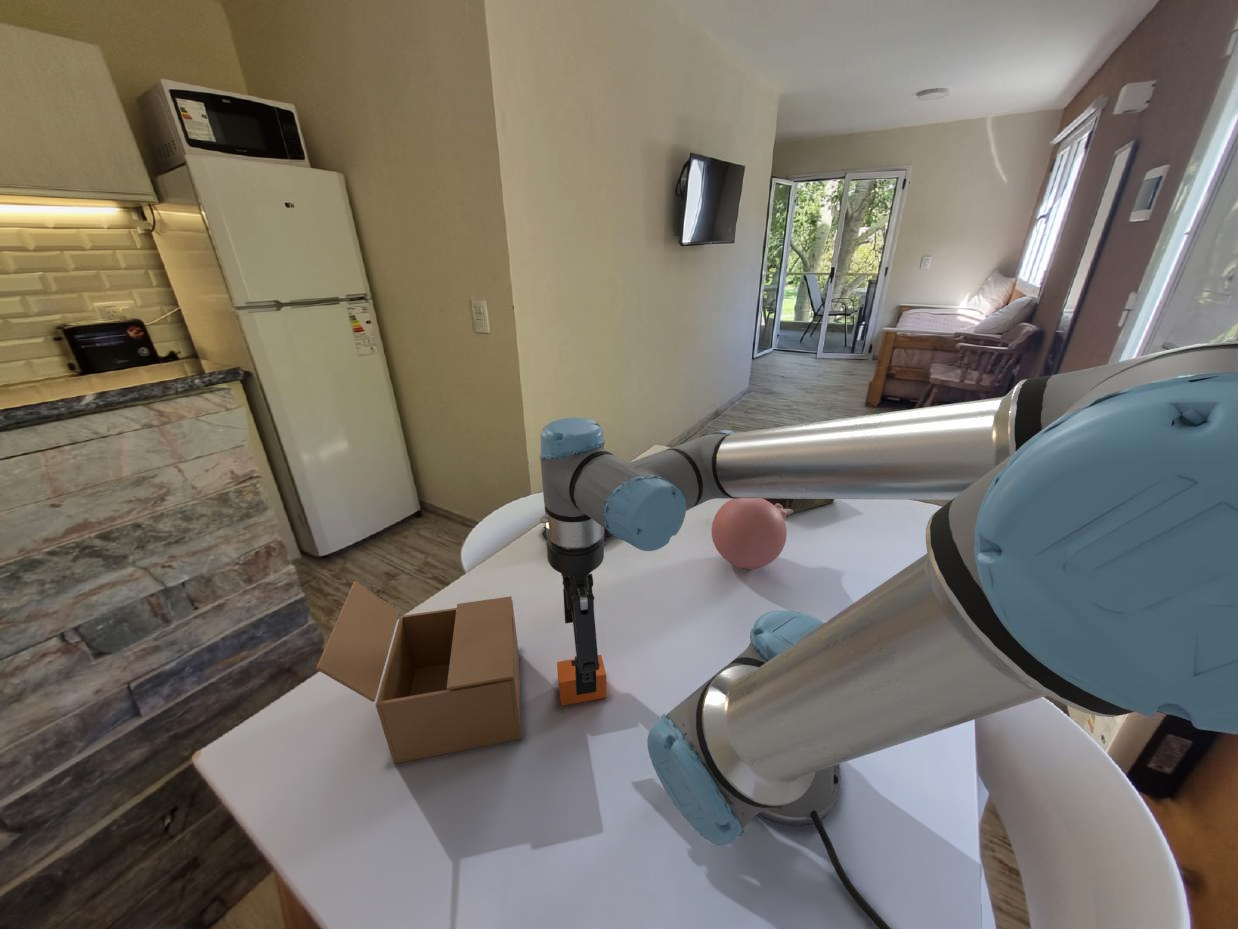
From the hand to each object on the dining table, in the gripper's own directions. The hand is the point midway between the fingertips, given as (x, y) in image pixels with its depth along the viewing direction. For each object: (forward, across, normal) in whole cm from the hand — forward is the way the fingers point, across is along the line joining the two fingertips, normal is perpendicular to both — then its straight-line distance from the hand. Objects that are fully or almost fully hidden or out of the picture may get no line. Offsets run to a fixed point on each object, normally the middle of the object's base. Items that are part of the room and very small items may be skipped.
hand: (579, 653), depth 72 cm
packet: (+8, 0, 0) cm, 8 cm away
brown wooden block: (+8, -46, +65) cm, 80 cm away
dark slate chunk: (+8, -45, +9) cm, 46 cm away
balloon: (+8, -26, +42) cm, 50 cm away
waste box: (+8, -2, -18) cm, 20 cm away
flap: (-8, -2, -29) cm, 30 cm away
